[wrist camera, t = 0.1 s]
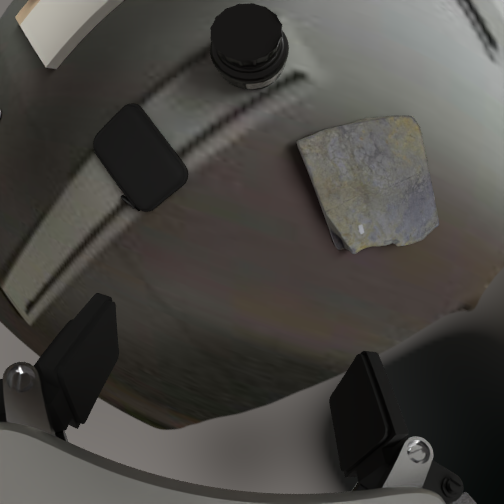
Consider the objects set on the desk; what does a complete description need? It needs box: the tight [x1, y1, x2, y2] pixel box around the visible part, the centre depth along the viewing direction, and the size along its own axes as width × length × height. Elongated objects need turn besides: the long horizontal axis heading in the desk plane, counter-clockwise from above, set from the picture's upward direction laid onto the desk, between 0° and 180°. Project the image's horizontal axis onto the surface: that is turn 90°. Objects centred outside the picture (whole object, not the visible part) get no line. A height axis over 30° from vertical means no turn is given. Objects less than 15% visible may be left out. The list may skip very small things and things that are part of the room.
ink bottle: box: [210, 3, 289, 89], centre depth 26 cm, size 10×9×12 cm
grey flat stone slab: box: [296, 116, 439, 254], centre depth 36 cm, size 20×5×17 cm
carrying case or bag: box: [94, 104, 188, 211], centre depth 36 cm, size 11×3×15 cm
